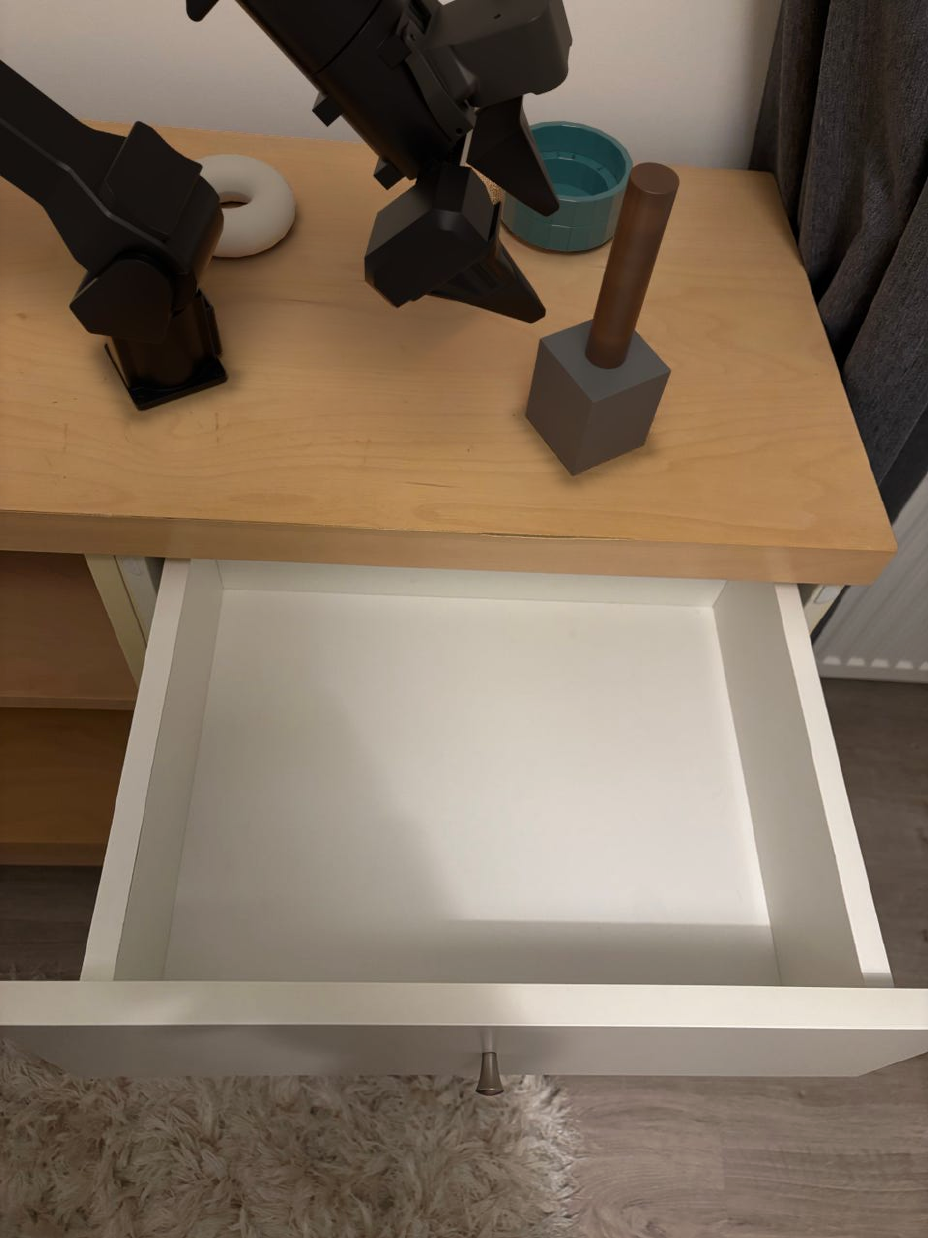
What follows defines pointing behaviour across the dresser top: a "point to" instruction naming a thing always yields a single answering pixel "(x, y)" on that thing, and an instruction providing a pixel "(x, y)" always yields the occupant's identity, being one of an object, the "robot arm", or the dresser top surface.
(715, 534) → the dresser top surface
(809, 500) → the dresser top surface
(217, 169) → the donut
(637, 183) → the stick
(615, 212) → the bowl
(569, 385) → the cube
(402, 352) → the dresser top surface
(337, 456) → the dresser top surface
